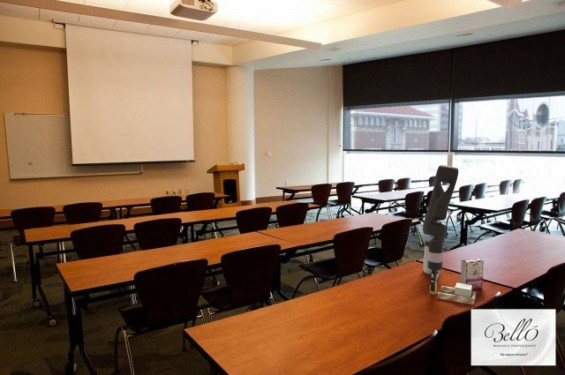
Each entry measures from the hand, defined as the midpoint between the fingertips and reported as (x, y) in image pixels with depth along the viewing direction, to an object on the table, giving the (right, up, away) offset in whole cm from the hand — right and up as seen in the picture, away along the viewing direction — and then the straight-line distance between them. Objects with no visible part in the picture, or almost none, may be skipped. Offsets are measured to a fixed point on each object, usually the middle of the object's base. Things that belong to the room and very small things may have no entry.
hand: (433, 288), depth 221 cm
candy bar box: (+24, -2, +8) cm, 25 cm away
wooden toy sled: (+10, -3, -5) cm, 11 cm away
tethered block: (+7, -3, -4) cm, 9 cm away
